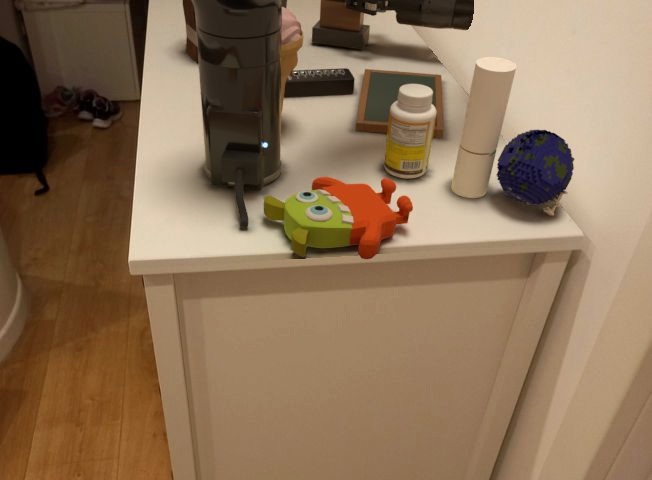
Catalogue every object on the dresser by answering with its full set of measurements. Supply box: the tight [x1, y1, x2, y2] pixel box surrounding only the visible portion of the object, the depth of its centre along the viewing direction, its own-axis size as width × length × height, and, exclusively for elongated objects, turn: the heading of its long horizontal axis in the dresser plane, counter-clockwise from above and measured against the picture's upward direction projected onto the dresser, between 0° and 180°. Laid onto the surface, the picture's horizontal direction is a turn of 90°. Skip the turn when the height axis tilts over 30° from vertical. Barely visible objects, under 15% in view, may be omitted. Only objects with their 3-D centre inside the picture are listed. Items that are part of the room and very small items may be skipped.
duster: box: [311, 0, 371, 50], centre depth 117 cm, size 5×9×10 cm, turn 73°
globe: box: [496, 129, 575, 217], centre depth 79 cm, size 8×8×8 cm
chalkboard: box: [355, 68, 445, 139], centre depth 102 cm, size 20×12×1 cm, turn 173°
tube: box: [450, 56, 517, 199], centre depth 79 cm, size 4×4×15 cm
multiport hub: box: [284, 67, 356, 98], centre depth 104 cm, size 4×11×2 cm, turn 101°
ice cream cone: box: [281, 7, 304, 116], centre depth 88 cm, size 11×11×20 cm
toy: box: [263, 176, 414, 260], centre depth 75 cm, size 15×4×15 cm
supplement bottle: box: [383, 84, 437, 179], centre depth 84 cm, size 6×6×10 cm
